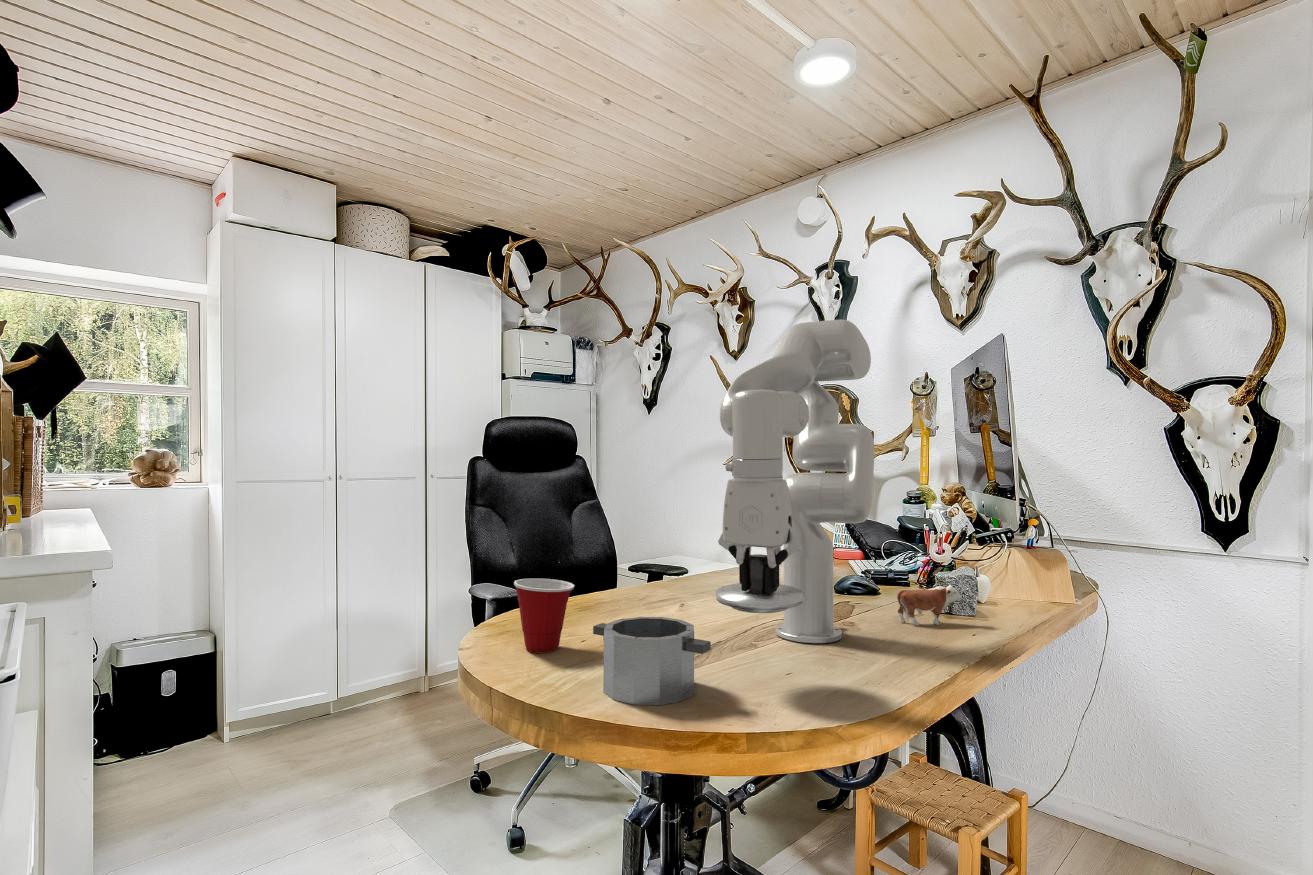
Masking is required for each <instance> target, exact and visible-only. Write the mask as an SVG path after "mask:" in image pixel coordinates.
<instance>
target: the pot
mask: <svg viewBox="0 0 1313 875" xmlns="http://www.w3.org/2000/svg"><path fill="white" fill-rule="evenodd" d="M592 627H593V628H592V635H596V636H602V637H604V640H603V681H602V682H603V683H602V686H603V687H602V688H603V690H602V691H603V693H604V694H605V695H606V696H608V697H609V698H611V700H613V701H617V702H621V703H624V704H629V705H632V706H665V705H669V704H673V703H674V704H675V703H680V702H683V701H685V700H687V699H688V698H689V697H692V696H693V695H694V694H695V654H701V655H704V654H706V653H708V652H710V651H712V649H711V648H712V647H711V645H712V644H711V643H712V642H711V641H710V640H704V639H698V638H695V628H694V627H695V625H694V624H692V623H690V622H687V621H685V620H683V619H678V618H677V619H676V618H671V617H665V616H635V617H634V616H633V617H627V618H626V617H625V618H619V619H616V620H614V621H611V622H608V623H604V622H601V623H599V624H596V625H593V626H592Z"/></svg>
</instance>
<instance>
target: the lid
mask: <svg viewBox="0 0 1313 875" xmlns="http://www.w3.org/2000/svg"><path fill="white" fill-rule="evenodd" d="M766 567H768V558H767V554H761V553H760V554H759V553H758V554H757V553H756V554H751V555H749V556H748V574H749V590H747V591H742V589H741V584H740V582H739V583H733V584H732V583H731V584H727V585H723V586H720V587H719V588H717V589H716V590H715V599H716V602H718V603H719V604H721V605H723V606H726V607H729V608H732V609H734V610H736V611H739V612H743V613H751V614H775V613H780V612H784V611H785V610H787V609H788V608H793V607H796V606H799V605H800V604H802V603H803V601H804V600H803V592H802V591H801V590H799V589H797V588H795V587H791V586H787V585H784V584H780V583H779V587H778V588H777V591H775V592H773V593H772V594H766V593H765V568H766Z"/></svg>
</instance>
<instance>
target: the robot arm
mask: <svg viewBox="0 0 1313 875" xmlns="http://www.w3.org/2000/svg"><path fill="white" fill-rule="evenodd" d="M871 363H872V355H871V350H870V347H869V345H868V342H867V340H866V338H865V337H864V336H863V333H862V332H861V331H860V329H859V328H858V327H857V326H856V324H854V323H853V322H852V321H850V320H848V319H831V320H829V319H828V320H820V321H807V322H802V323H798V324H797V323H796V324H795V325H793V326H791V327H789V328H788V329H787V330H786V331H785V333H784V334H783V337H782V338H781V340H780V342H779V344H778V346H777V348H776V349H775V352H774V353H773V355H772V356H771V357H770V358H768V359H767V360H765V361H763V362H761V363H759V364H757V365H756V366H753V367H751V368H750V369H747V370H746V371H744V372H743V373H741V374H739V375H738V376H737V377H736V378H735V379H734V380H733V381H732V382H731V383H730V386H729V387H728V389H727V391H726V393H725V394H724V397H723V399H722V401H721V404H720V409H719V423H720V425H721V428H722V430H723V432H725V434H727V435H728V436H730V437H732V459H731V461H730V462H726V463H725V471H726V472H730V473H731V476H732V477H733V478H732V479H728V481H727V484H726V489H725V494H724V504H723V514H722V533H721V534H720V537H719V539H718V545H719V546H721V547H722V548H723V549H724V550H726V551H728V552H729V554H730V555H731V556H732V557H733V558H734V559H735V563H736V564H737V565H739V566H738V571H739V572H738V573H739V574H738V575H739V576H738V578H739V583H740V584H741V589H742V591H747V590H749V574H748V556H749V555H752V547H754V548H756V547H757V548H765V550H766V555H767V558H768V567H766V568H765V593H766V594H772V593H773V592H775V591H777V588H778V587H779V584H780V565H782V564H783V585H787V586H791V587H795V588H797V589H799V590H801V591H802V592H803V600H804V601H803V603H802V604H800V605H799V606H796V607H793V608H788V609H787V610H785V611H783V622H782V623H779V624H778V625H776V626H775V635H777V636H778V637H780V638H782V639H785V640H788V641H790V642H791V641H792V642H797V643H806V644H827V643H834V642H837V641H839V640H842V638H843V631H842V629H841V628H839V627H837V626H835V625H834V624H835V623H834V618H835V611H834V609H835V608H834V604H835V603H834V601H835V600H834V599H835V598H834V597H835V596H834V595H835V594H834V587H835V586H834V580H835V579H834V576H835V575H834V574H835V573H834V545H833V542H832V539H831V538H830V536H829V534H828V533H827V532H826V530H825V529H824V527H823V526H822V525H821V523H825V524H826V523H829V524H830V523H833V524H835V523H836V524H861V523H864V522H865V521H867V520H868V519H869V516H870V514H871V512H872V505H873V504H872V503H873V502H872V501H873V491H874V490H873V487H874V470H875V450H876V449H875V442H874V441H875V440H874V437H873V436H874V435H873V432H872V431H871V430H870V429H869V428H868V427H867V426H865V425H863V424H859V423H839V415H840V414H839V413H840V407H839V404H838V402H837V400H836V399H835V398H834V396H833V395H832V394H831V393H830V392H829V391H828V390H827V389H826V388H824V386H822V385H821V384H820V382H834V381H835V382H836V381H839V382H840V381H854V380H855V381H857V380H861V379H863V378H865V377H866V376H867V375H868V373H869V371H870V369H871ZM791 437H793V441H792V442H793V443H792V460H793V462H794V464H795V466H796V467H797V468H799V469H801V470H805V471H810V472H797V473H792V474H789V475H787V476H786V477H783V476H784V466H783V465H784V463H783V461H784V459H783V457H784V456H783V455H784V454H783V452H784V451H783V447H784V446H783V438H791ZM837 472H838V473H837ZM840 472H841V473H840ZM842 472H845V473H842ZM782 546H783V549H782V548H781V547H782Z"/></svg>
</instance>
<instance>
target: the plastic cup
mask: <svg viewBox="0 0 1313 875" xmlns="http://www.w3.org/2000/svg"><path fill="white" fill-rule="evenodd" d="M513 585H514V587H515V590H516V595H517V601H518V608H519V615H520V623H521V629H522V633H523V640H524V647H525V649H526V651H527V652H530V653H531V654H533V653H535V654H546V653H551V652H555V651H557V650H558V649H559V645H560V642H561V641H560V640H561V634H562V631H563V628H564V627H563V626H564V620H565V616H566V615H565V614H566V611H567V606H568V601H569V599H570V598H569V597H570V594H571V593H572V590H574V588H575V584H573V583H572V582H569V581H566V580H565V581H564V580H561V579H560V580H559V579H553V578H552V579H551V578H522V579H517V580H514V582H513Z"/></svg>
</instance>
